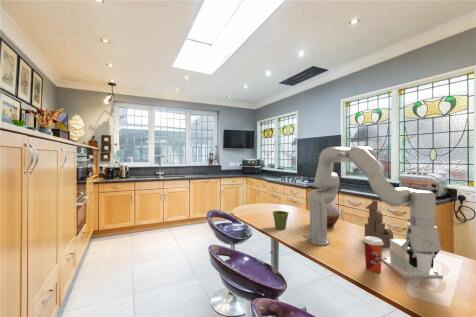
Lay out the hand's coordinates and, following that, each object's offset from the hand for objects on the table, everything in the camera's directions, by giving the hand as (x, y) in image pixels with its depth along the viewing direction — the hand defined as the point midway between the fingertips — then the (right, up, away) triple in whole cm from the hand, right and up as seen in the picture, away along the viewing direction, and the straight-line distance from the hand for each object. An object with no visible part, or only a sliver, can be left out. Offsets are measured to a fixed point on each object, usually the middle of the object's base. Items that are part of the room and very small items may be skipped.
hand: (420, 265), depth 85 cm
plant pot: (-43, -8, +68) cm, 81 cm away
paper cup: (-12, -7, +11) cm, 18 cm away
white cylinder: (0, -1, 0) cm, 1 cm away
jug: (-9, -7, +73) cm, 74 cm away
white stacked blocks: (+5, -7, +12) cm, 15 cm away
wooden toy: (+10, -7, +42) cm, 44 cm away
